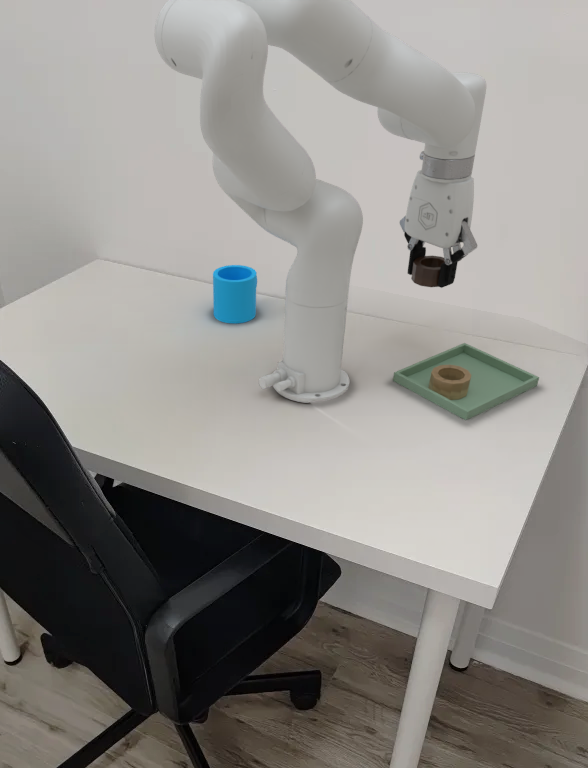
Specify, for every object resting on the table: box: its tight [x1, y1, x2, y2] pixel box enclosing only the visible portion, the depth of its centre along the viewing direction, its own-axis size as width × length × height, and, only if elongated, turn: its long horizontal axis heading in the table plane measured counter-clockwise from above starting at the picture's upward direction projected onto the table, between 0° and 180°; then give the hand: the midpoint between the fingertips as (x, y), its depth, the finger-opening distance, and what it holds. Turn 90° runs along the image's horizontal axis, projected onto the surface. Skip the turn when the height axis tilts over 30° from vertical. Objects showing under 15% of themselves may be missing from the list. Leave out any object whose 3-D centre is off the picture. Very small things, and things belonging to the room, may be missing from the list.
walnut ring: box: [411, 255, 445, 288], centre depth 129 cm, size 6×6×3 cm
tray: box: [392, 342, 540, 421], centre depth 125 cm, size 17×15×2 cm
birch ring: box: [429, 365, 471, 400], centre depth 123 cm, size 6×6×3 cm
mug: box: [212, 264, 258, 324], centre depth 147 cm, size 12×8×8 cm
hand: (430, 277), depth 129 cm, fingers closed on walnut ring, 6 cm apart
